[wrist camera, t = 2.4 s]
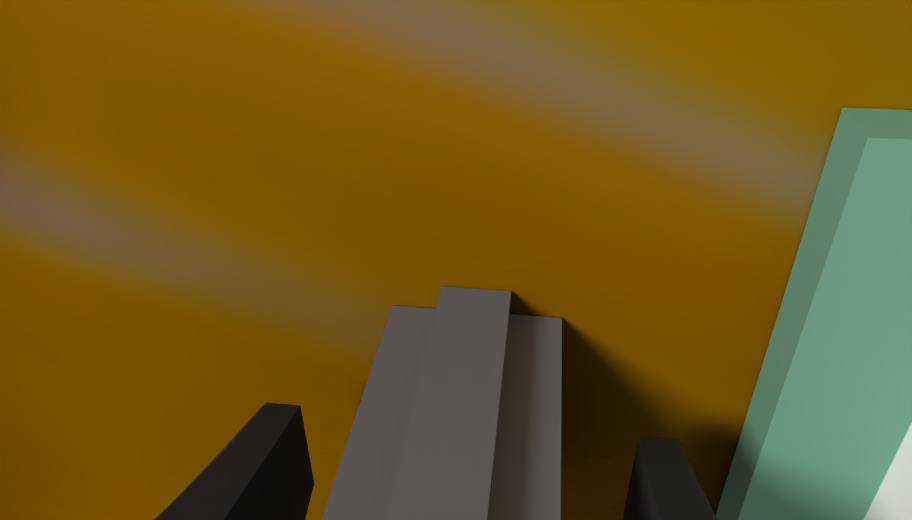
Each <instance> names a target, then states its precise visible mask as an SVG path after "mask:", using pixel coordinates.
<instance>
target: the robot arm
mask: <svg viewBox="0 0 912 520" xmlns="http://www.w3.org/2000/svg"><path fill="white" fill-rule="evenodd" d="M313 486H314V480H313V474H312V469H311V463H310V458H309V452H308V446H307V441H306V435H305V430H304V424H303V419H302V413H301V407H300V406H298V405H287V404H276V403H266V404H264V405H263V406H262V407H261V408H260V409H259V410H258V411H257V412H256V413H255V414H254V416H253V417H252V418H251V419H250V420H249V421H248V422H247V423H246V425H245V426H244V427H243V428H242V429H241V430H240V431H239V432H238V433H237V435H236V436H235V437H234V438H233V439H232V440H231V441H230V442H229V443H228V444H227V446H226V447H225V448H224V449H223V450H222V451H221V452H220V453H219V454H218V455H217V456H216V457H215V459H214V460H213V461H212V462H211V463H210V464H209V465H208V466H207V467H206V468H205V469H204V470H203V471H202V472H201V473H200V474H199V475H198V476H197V477H196V478H195V479H194V480H193V482H192V483H191V484H190V485H189V486H188V487H187V488H186V489H185V490H184V491H183V492H182V493H181V494H180V495H179V496H178V497H177V498H176V499H175V500H174V501H173V502H172V503H171V504H170V505H169V506H168V507H167V508H166V509H165V510H164V511H163V512H162V513H161V514H160V515H158V516H157V517H156V518H155V519H154V520H305V517H306V514H307V510H308V506H309V502H310V498H311V494H312V490H313ZM623 518H624V520H718V519H717V518H716V516H715V514H714V512H713V510H712V508H711V506H710V504H709V502H708V500H707V498H706V496H705V494H704V492H703V490H702V488H701V486H700V484H699V482H698V480H697V477H696V475H695V473H694V471H693V469H692V467H691V464H690V462H689V460H688V457H687V455H686V453H685V450H684V448H683V445H682V444H681V443H680V442H679V441H678V440H677V439H666V438H655V437H644V436H639V438H638V443H637V448H636V453H635V458H634V463H633V469H632V474H631V479H630V484H629V489H628V494H627V499H626V504H625V509H624V514H623Z"/></svg>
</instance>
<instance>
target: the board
mask: <svg viewBox="0 0 912 520" xmlns="http://www.w3.org/2000/svg"><path fill="white" fill-rule="evenodd" d="M715 516H716V518H717V519H718V520H912V110H892V109H867V108H842V110H841V114H840V117H839V120H838V123H837V126H836V130H835V133H834V136H833V139H832V143H831V146H830V149H829V152H828V155H827V159H826V162H825V165H824V168H823V171H822V175H821V178H820V181H819V184H818V188H817V191H816V194H815V197H814V200H813V204H812V207H811V210H810V213H809V216H808V220H807V223H806V226H805V229H804V233H803V236H802V239H801V242H800V245H799V249H798V252H797V255H796V258H795V261H794V265H793V268H792V271H791V274H790V277H789V281H788V284H787V287H786V290H785V294H784V297H783V300H782V303H781V306H780V310H779V313H778V316H777V319H776V322H775V326H774V329H773V332H772V335H771V339H770V342H769V345H768V348H767V351H766V355H765V358H764V361H763V364H762V367H761V371H760V374H759V377H758V380H757V384H756V387H755V390H754V393H753V396H752V400H751V403H750V406H749V409H748V412H747V416H746V419H745V422H744V425H743V429H742V432H741V435H740V438H739V441H738V445H737V448H736V451H735V454H734V457H733V461H732V464H731V467H730V470H729V474H728V477H727V480H726V483H725V486H724V490H723V493H722V496H721V499H720V502H719V506H718V509H717V512H716V515H715Z"/></svg>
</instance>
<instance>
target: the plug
mask: <svg viewBox="0 0 912 520" xmlns="http://www.w3.org/2000/svg"><path fill="white" fill-rule="evenodd" d="M510 304H511V291H502V290H488V289H474V288H459V287H445V286H442V287H441V291H440V295H439V299H438V303H437V307H436V309H433V308H419V307H406V306H392V307H391V310H390V313H389V316H388V319H387V322H386V325H385V328H384V331H383V334H382V338H381V341H380V344H379V347H378V350H377V353H376V356H375V359H374V362H373V365H372V368H371V371H370V374H369V377H368V380H367V383H366V386H365V389H364V392H363V395H362V398H361V401H360V404H359V407H358V411H357V414H356V417H355V420H354V423H353V426H352V429H351V432H350V435H349V438H348V441H347V444H346V447H345V450H344V453H343V456H342V459H341V462H340V465H339V468H338V471H337V474H336V477H335V481H334V484H333V487H332V490H331V493H330V496H329V499H328V502H327V505H326V508H325V511H324V514H323V517H322V520H561V394H562V318H556V317H543V316H529V315H515V314H510Z"/></svg>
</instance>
